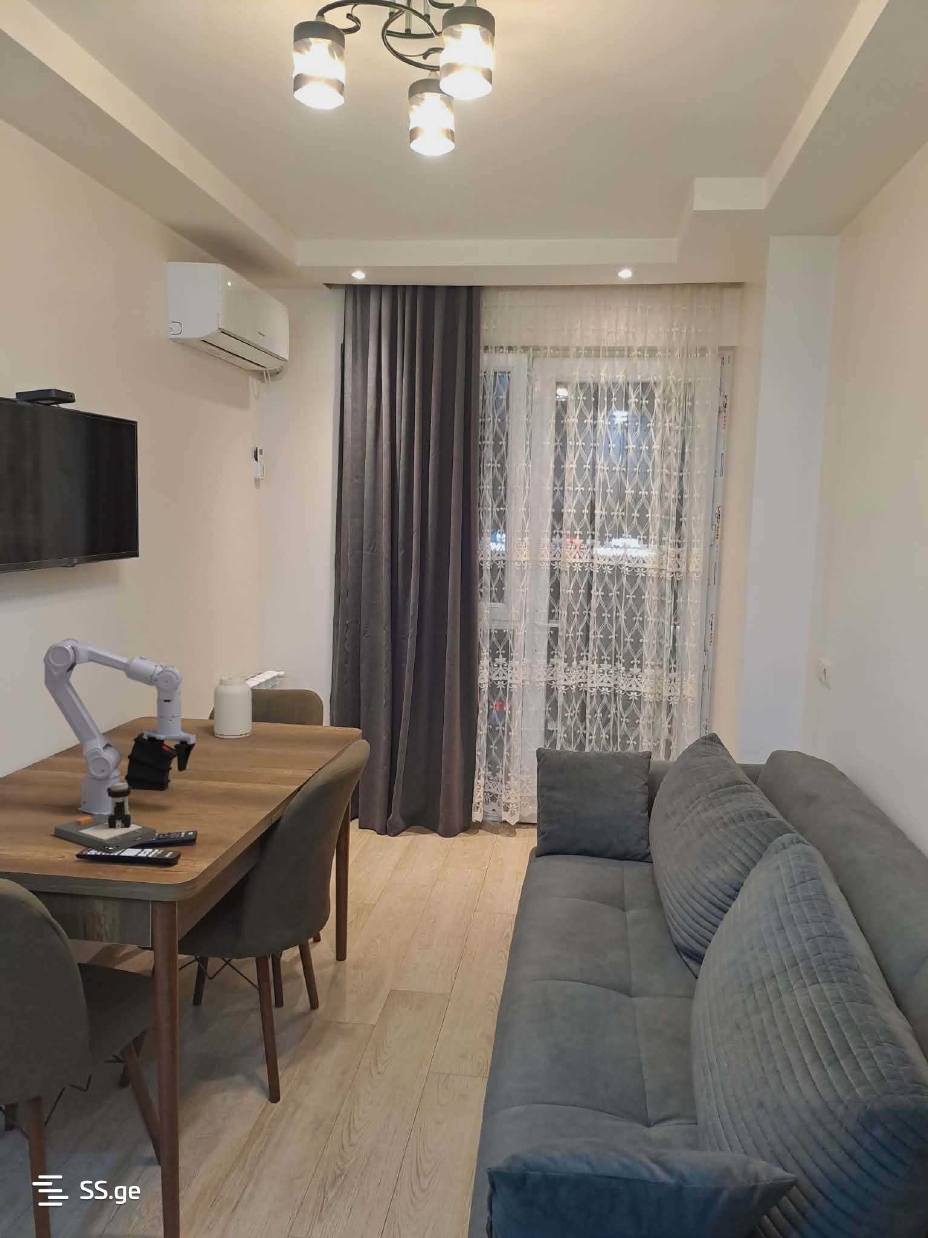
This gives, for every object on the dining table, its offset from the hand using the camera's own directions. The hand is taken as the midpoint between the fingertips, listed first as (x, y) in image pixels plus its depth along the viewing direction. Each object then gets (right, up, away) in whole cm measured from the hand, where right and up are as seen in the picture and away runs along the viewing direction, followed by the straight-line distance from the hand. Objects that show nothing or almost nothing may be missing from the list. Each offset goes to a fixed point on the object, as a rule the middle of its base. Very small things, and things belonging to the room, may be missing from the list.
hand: (169, 768), depth 223 cm
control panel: (-8, -12, -20) cm, 25 cm away
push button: (-6, -10, -19) cm, 23 cm away
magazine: (-11, -9, +18) cm, 23 cm away
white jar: (-5, -2, +81) cm, 81 cm away
